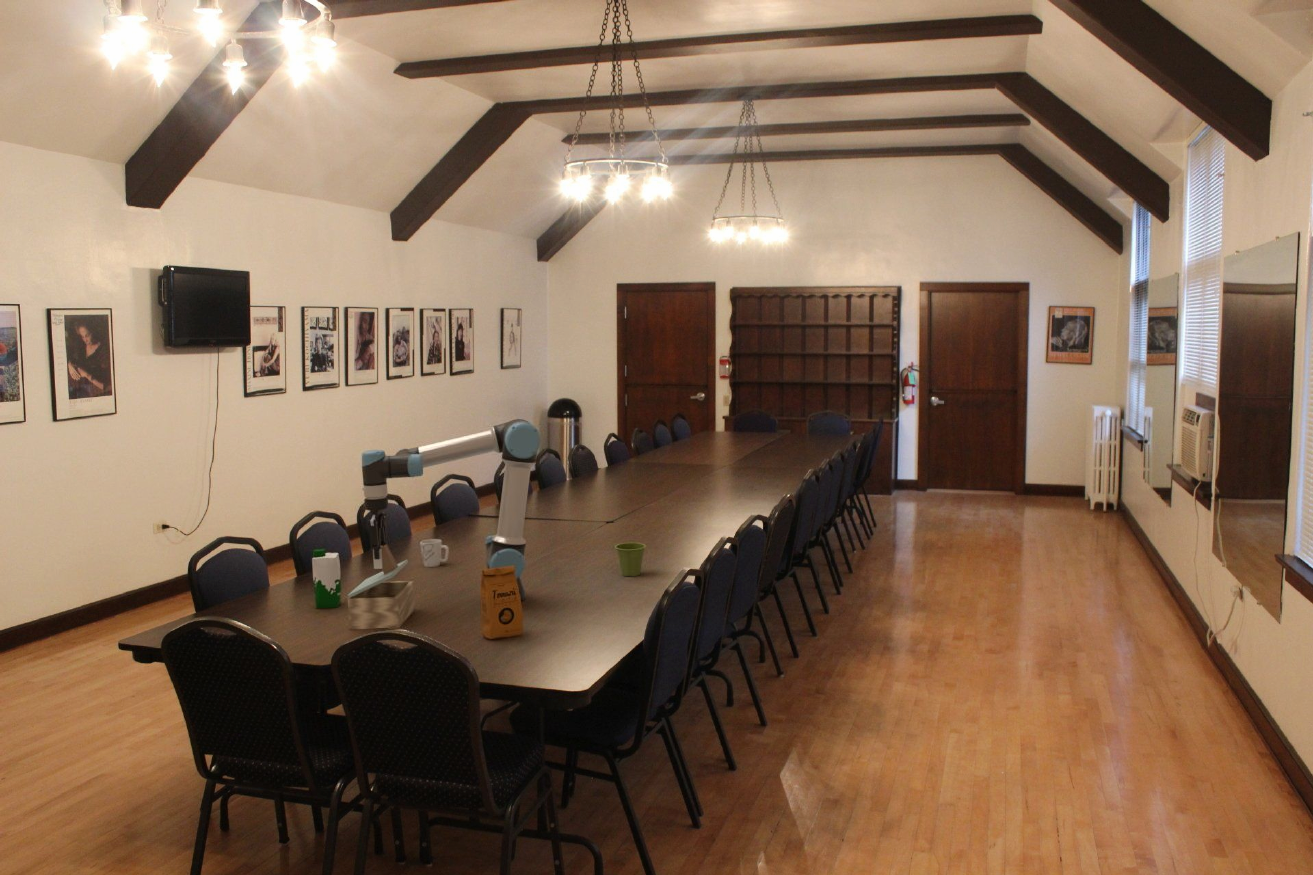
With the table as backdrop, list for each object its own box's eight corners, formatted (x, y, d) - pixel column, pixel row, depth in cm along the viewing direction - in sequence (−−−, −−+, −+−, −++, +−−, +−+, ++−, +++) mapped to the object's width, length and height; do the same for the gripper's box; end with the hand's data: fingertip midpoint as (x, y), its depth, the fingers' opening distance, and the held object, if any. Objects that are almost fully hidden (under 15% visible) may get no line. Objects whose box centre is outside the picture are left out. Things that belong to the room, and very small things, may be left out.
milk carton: (317, 603, 370) (313, 547, 368) (343, 601, 372) (340, 546, 370) (313, 609, 362) (309, 553, 360) (340, 608, 363) (337, 551, 361)
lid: (408, 561, 357) (395, 537, 356) (392, 577, 336) (379, 551, 335) (367, 581, 358) (354, 557, 357) (348, 598, 337) (335, 572, 336)
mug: (452, 562, 428) (451, 538, 427) (446, 567, 419) (445, 543, 418) (425, 562, 429) (424, 538, 428) (418, 567, 421) (417, 543, 419)
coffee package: (526, 637, 326) (523, 568, 323) (486, 642, 321) (484, 572, 318) (517, 628, 335) (515, 561, 332) (479, 634, 330) (476, 565, 327)
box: (414, 609, 360) (413, 581, 358) (398, 628, 338) (397, 598, 337) (368, 610, 360) (366, 581, 359) (349, 629, 338) (347, 599, 337)
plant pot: (610, 576, 400) (609, 547, 399) (625, 569, 410) (624, 541, 409) (637, 579, 395) (636, 550, 393) (651, 572, 405) (651, 544, 404)
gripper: (371, 493, 353) (376, 561, 355) (357, 502, 336) (361, 573, 338) (393, 492, 352) (398, 560, 355) (380, 501, 335) (384, 572, 338)
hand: (380, 566), depth 347 cm, fingers closed on lid, 4 cm apart
